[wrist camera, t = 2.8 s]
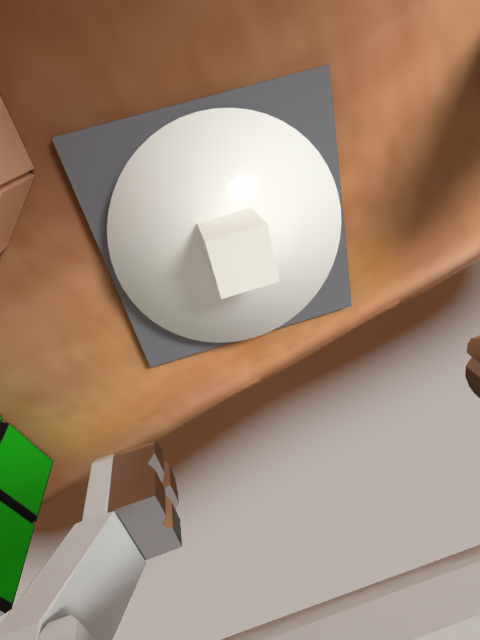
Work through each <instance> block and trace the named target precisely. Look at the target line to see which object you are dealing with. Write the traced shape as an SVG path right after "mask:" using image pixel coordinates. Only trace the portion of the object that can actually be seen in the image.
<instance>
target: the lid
mask: <svg viewBox="0 0 480 640" xmlns="http://www.w3.org/2000/svg"><path fill="white" fill-rule="evenodd" d="M340 234H341V206H340V200H339V194H338V191H337V188H336V184H335V181H334V178H333V176H332V174H331V172H330V170H329V168H328V165H327V164H326V162H325V161H324V159H323V158H322V156H321V154H320V153H319V152H318V150H317V149H316V148H315V147H314V146H313V145H312V144H311V142H310V141H309V140H308V139H307V138H306V137H304V136H303V135H302V134H301V133H300V132H299V131H297V130H296V129H295V128H293V127H291V126H290V125H288V124H287V123H285V122H284V121H282V120H279V119H277V118H275V117H273V116H270V115H268V114H265V113H261V112H258V111H254V110H250V109H241V108H212V109H207V110H202V111H197V112H193V113H190V114H188V115H185V116H182V117H179V118H177V119H175V120H174V121H172V122H170V123H168V124H166V125H164V126H163V127H161V128H160V129H159V130H157V131H156V132H155V133H153V134H152V135H151V136H149V137H148V138H147V139H146V140H145V141H144V142H143V143H142V144H141V145H140V146H139V147H138V148H137V150H136V151H135V152H134V154H133V155H132V156H131V158H130V159H129V160H128V162H127V163H126V165H125V167H124V169H123V171H122V173H121V174H120V176H119V178H118V181H117V183H116V186H115V189H114V191H113V194H112V197H111V202H110V206H109V211H108V220H107V240H108V248H109V253H110V258H111V262H112V265H113V268H114V271H115V274H116V276H117V278H118V280H119V282H120V284H121V286H122V288H123V289H124V291H125V292H126V294H127V295H128V297H129V298H130V300H131V301H132V302H133V303H134V304H135V305H136V306H137V308H138V309H139V310H140V311H141V312H142V313H143V314H145V315H146V316H147V317H148V318H149V319H151V320H152V321H153V322H155V323H156V324H158V325H159V326H161V327H163V328H164V329H166V330H168V331H170V332H172V333H175V334H177V335H180V336H183V337H186V338H189V339H193V340H198V341H203V342H213V343H224V342H235V341H242V340H246V339H250V338H254V337H257V336H260V335H262V334H265V333H268V332H270V331H272V330H274V329H276V328H278V327H280V326H281V325H283V324H284V323H286V322H287V321H289V320H290V319H292V318H293V317H294V316H295V315H297V314H298V313H299V312H300V311H301V310H302V309H303V308H304V307H305V306H306V305H307V304H308V303H309V302H310V301H311V300H312V299H313V297H314V296H315V295H316V294H317V292H318V291H319V290H320V288H321V287H322V285H323V283H324V282H325V280H326V278H327V276H328V274H329V272H330V270H331V268H332V266H333V263H334V260H335V257H336V254H337V251H338V246H339V241H340Z"/></svg>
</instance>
